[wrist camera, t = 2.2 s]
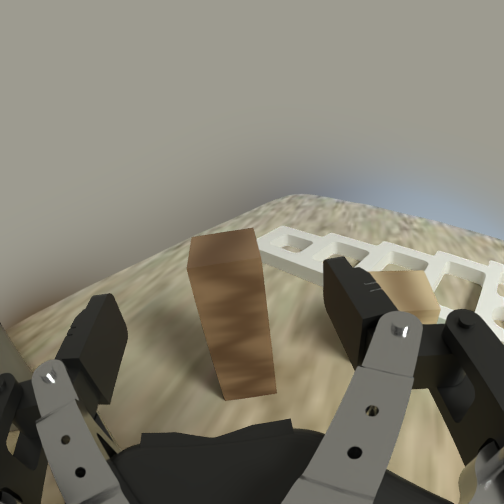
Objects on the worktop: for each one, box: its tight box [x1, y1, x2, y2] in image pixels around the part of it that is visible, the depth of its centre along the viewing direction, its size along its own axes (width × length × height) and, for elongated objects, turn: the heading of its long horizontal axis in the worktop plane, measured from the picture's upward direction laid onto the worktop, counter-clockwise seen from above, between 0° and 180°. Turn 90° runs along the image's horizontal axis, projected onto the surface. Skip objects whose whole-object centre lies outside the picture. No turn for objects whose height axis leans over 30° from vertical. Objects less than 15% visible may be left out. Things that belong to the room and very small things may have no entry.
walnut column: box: [187, 228, 277, 401], centre depth 26 cm, size 5×5×15 cm
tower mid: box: [367, 270, 441, 324], centre depth 28 cm, size 6×6×4 cm
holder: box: [256, 226, 504, 345], centre depth 42 cm, size 45×18×3 cm, turn 44°
